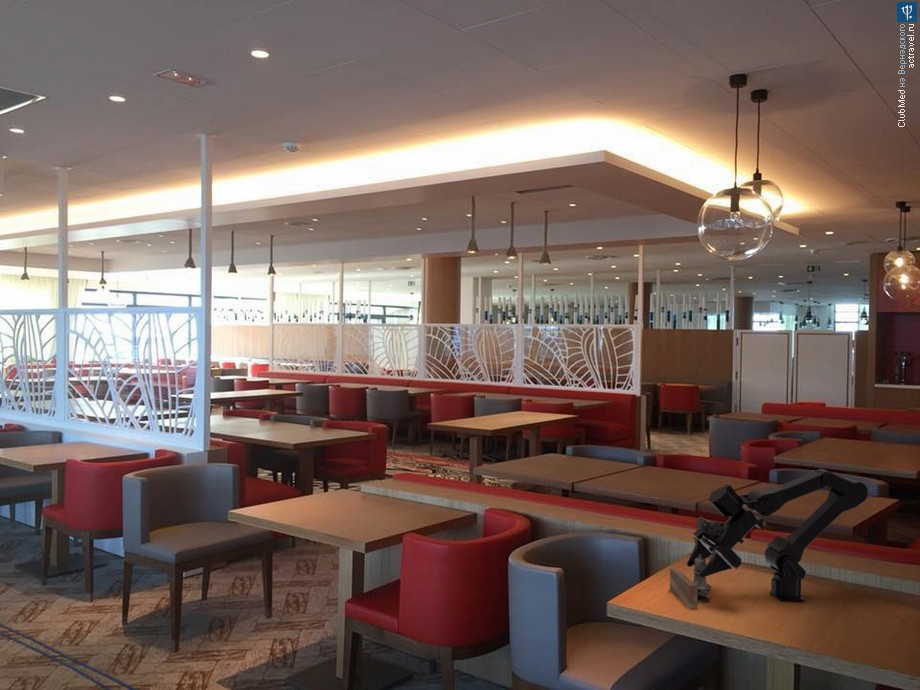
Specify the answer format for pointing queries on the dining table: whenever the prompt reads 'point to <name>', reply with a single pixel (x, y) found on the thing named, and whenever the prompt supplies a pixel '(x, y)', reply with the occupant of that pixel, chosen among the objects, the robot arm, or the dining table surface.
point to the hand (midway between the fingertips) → (694, 570)
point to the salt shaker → (701, 580)
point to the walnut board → (683, 588)
